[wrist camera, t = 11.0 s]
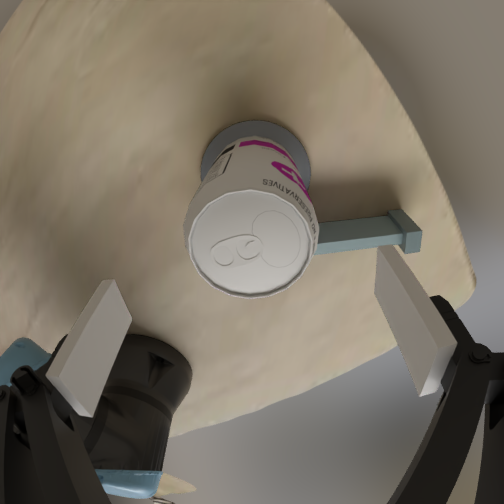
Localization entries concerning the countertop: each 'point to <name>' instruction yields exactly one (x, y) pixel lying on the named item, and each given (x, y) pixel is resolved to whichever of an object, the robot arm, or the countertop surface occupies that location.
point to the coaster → (260, 130)
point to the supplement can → (251, 221)
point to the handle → (370, 233)
